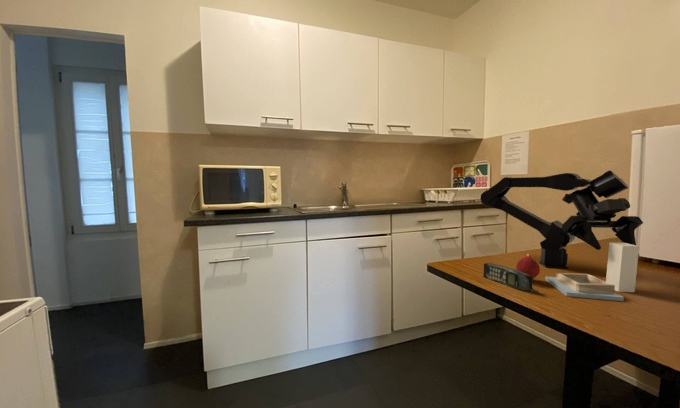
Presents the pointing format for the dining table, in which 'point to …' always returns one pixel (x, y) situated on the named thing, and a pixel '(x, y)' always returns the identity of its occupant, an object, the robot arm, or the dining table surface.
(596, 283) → the socket collar
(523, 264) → the onion
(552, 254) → the robot arm
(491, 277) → the mobile phone
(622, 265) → the block
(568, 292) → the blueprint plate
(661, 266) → the dining table surface
